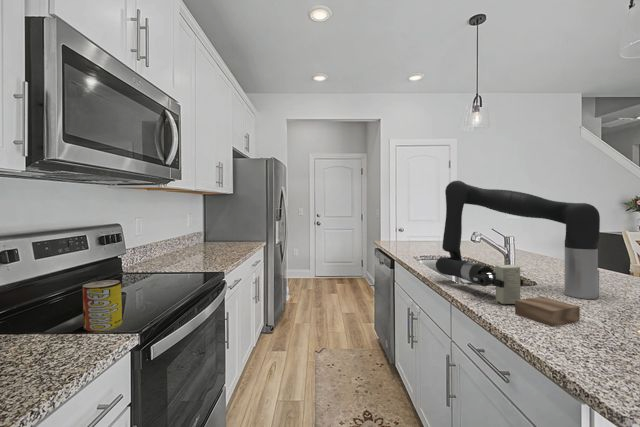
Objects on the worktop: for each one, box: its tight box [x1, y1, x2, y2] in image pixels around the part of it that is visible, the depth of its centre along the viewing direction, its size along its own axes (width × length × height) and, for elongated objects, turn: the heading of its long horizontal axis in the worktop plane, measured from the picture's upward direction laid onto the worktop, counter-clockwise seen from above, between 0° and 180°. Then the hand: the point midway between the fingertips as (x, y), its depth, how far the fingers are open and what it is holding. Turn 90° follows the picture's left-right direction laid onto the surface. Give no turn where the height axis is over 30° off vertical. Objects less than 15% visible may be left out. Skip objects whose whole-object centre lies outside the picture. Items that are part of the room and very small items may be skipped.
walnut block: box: [514, 296, 581, 327], centre depth 94 cm, size 11×11×4 cm
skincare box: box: [495, 264, 521, 305], centre depth 107 cm, size 6×4×12 cm
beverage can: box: [82, 279, 123, 333], centre depth 91 cm, size 9×9×12 cm
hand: (513, 283), depth 105 cm, fingers closed on skincare box, 7 cm apart
